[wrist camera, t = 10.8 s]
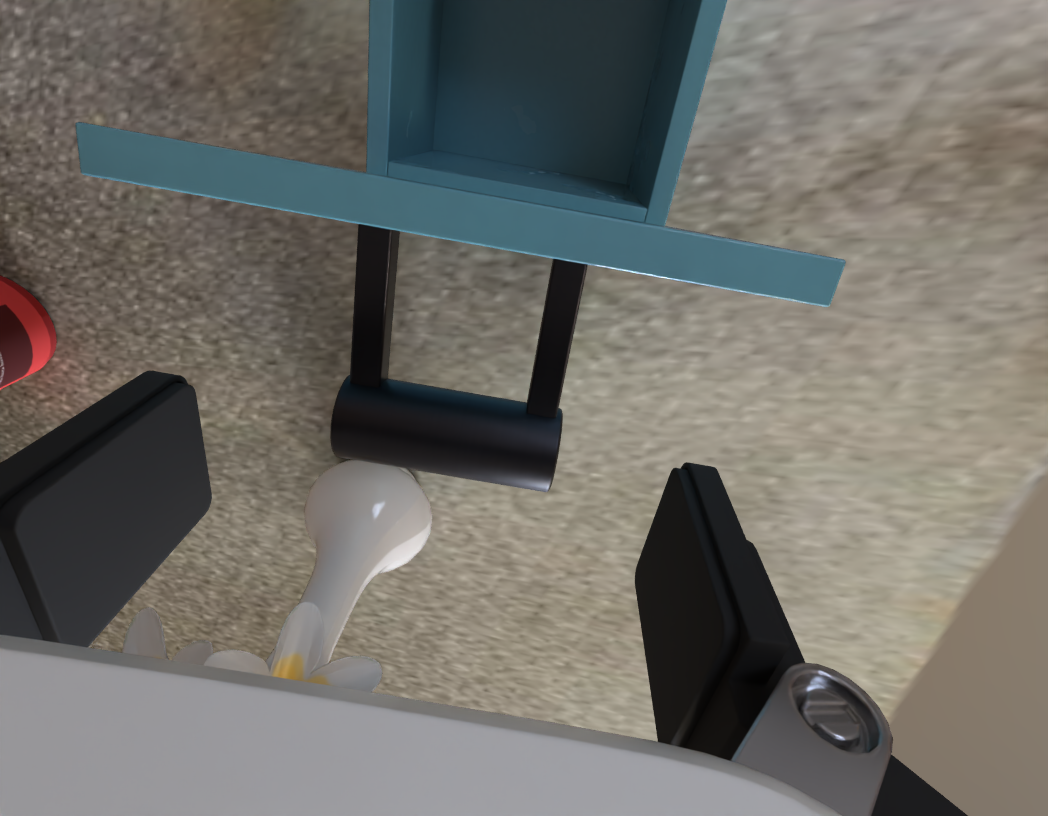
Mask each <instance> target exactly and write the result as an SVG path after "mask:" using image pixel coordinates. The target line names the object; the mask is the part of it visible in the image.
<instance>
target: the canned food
mask: <svg viewBox="0 0 1048 816" xmlns="http://www.w3.org/2000/svg"><path fill="white" fill-rule="evenodd" d="M56 343H57V341H56V332H55V329H54V325H53V323H52V321H51V319H50V317H49V315H48V313H47V312H46V310H45V309H44V308H43V306H42V305H41V304H40V303H39V302H38V301H37V299H36V298H35V297H34V296H33V295H31V294H30V293H29V292H28V291H27V290H25V289H24V288H23V287H21V286H20V285H18V284H17V283H15V282H13V281H11V280H9V279H7V278H5V277H3V276H0V389H2V388H4V387H6V386H8V385H10V384H12V383H14V382H16V381H18V380H20V379H22V378H24V377H26V376H28V375H30V374H32V373H34V372H36V371H38V370H39V369H41V368H42V367H43V366H44V365H45V364H46V363H47V362H48V360H49V359H50V358H51V357H52V356H53V354H54V352H55V348H56Z"/></svg>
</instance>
